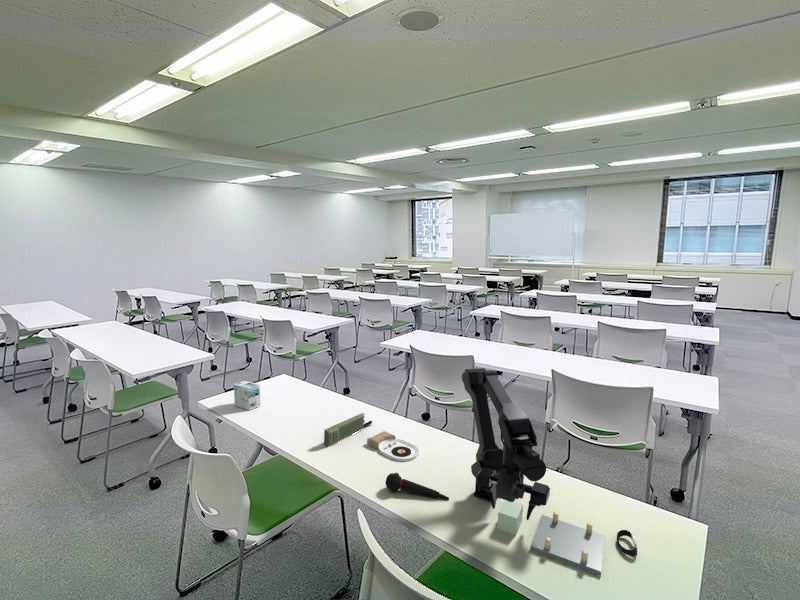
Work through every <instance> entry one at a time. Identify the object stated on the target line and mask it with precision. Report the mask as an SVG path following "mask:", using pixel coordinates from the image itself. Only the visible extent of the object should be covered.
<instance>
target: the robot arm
mask: <svg viewBox="0 0 800 600" xmlns="http://www.w3.org/2000/svg"><path fill="white" fill-rule="evenodd" d="M461 380H462V384H463V385H464V390H465V392H467V394H468V395H469V396H470V398H471V402H472V407H473V408H472V409H473V415H474V420H475V427H476V431H477V433H476V434H477V437H478V438H477V439H478V444H479V445H478V449H477V451H476V454H475V462H474V463H473V464H471V466H470V471H471V474H472V475H473V477H475V484H474V485H475V486H474V487H475V488H474V492H473V494H472V496H473V497H476V498H479V499H482V500H484V501H488V502H490V504H491V507H492V509H493V510H494V509H496V505H497V499H499V500H501V499H502V500H507V501H509V502H514V501H515V502H516V500H519V499H523V498H524V495H525V494H529V495H530V496H529V498H530V499H529V501H528V506H527V511H526V512H527V513H526V521H529V520H530V517H531V514H532V513H533V511H534V509H535V508H536V507H541V506H547V503H548V501H549V498H550V494H551V493H550V492H551V488H550V486H549V485H548V484H545V483H542V482H538V481H540V480H541V479H542V478H543V477H544V476H545V475H546V472H547V465H546V463H545V462H544V460H542V459H541V455H540V453H538V452H537V451H535V450H534V449H533V447H538V442H537V439H538V438H537V435H536V432H535V430H534V426H533V424H532V421H531V420H530V418H529V417H528V415H527V414H526V413H525V412H524V410H523V409H522V408H520V407H518V406H516V405H515V404H514V403H513V401H512V399H511V397H510V396H509V395H508V393H507V390H506V389H505V387H504V386H503V384H502V382H501V381H500V378H499V375H498V372H497V371H496V370H493V369H489V370H488V369H486V368H484V367H480V368H479V367H476V368H467V369H465V370H464V372H462V374H461ZM488 397H489V398H490V401H491V402H492V404H493V407H494V409H495V410H496V413H498V414H497V415H498V419H497V420H498V421H497V423H498V426H499V429H500V432H501V434H500V438H501V439H502V440H503V446H502V447H503V448H499V446H498V445H497V444H496V440H495V432H494V428H493V422H492V421H493V420H492V417H491V412H490V406H489V405H490V404H489V401H488ZM524 437H525V438H524ZM526 437H527V438H526ZM521 438H524V439H521ZM525 478H527V480H529V481H531V482H534V483H533V485H531V484H525V483H524V481H525V480H524V479H525Z"/></svg>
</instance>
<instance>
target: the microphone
mask: <svg viewBox="0 0 800 600" xmlns="http://www.w3.org/2000/svg"><path fill="white" fill-rule="evenodd" d="M385 486H386V488H388V490H390V492H392V493H395V492H397V491H399V490H400V491H402V492H406V493H408V494H410V495H414V494H415V495H419V496H423V497H427V498H431V499H436V500H439V499H441V500H447V501H449V500H450V497H448V496H447V495H444V494H443V493H440V492H439V491H438V490H436V489H433V488H430V487H427V486H424V485H421V484H419V483H416V482H414V481H412V480H411V481H410V480H408V479H405V478H402V477H401V475H400V474H399V472H395V473H394V472H391V473H389V474H388V475H387V476H386V479H385Z"/></svg>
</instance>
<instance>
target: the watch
mask: <svg viewBox="0 0 800 600" xmlns="http://www.w3.org/2000/svg"><path fill="white" fill-rule="evenodd" d="M621 537H629V538H630V539H631V540H632V544H633V546H634V547H633V548H634V549H631V550H630V549H627V548H625V547H624V546H622V545H621V543H620V538H621ZM616 542H617V546H618V547H619V549H620V551H621V552H622V553H623V554H625V555H626V556H629V557H633V556H636V555H637V553H638V549H639V546H638V544H637V540H636V537H635V535H633V534H632V533H631V532H630V531H629V530H627V529H621V530H619V531H618V532H617V533H616Z"/></svg>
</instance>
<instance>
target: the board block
mask: <svg viewBox="0 0 800 600" xmlns="http://www.w3.org/2000/svg"><path fill="white" fill-rule="evenodd" d="M503 500H504V499H503ZM523 514H524V504H523V503H521V502H518V501H516V500H515V501H514V502H509V501H507V500H504V501H503V502H502V504H501V506H500V508H499V510H498V512H497V515H498V516H497V529H498V530H500V531H502V532H505V533H509V534H510V535H513V536H517V534H518V532H519V529H520V527H521V525H522V522H523V516H524V515H523Z"/></svg>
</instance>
